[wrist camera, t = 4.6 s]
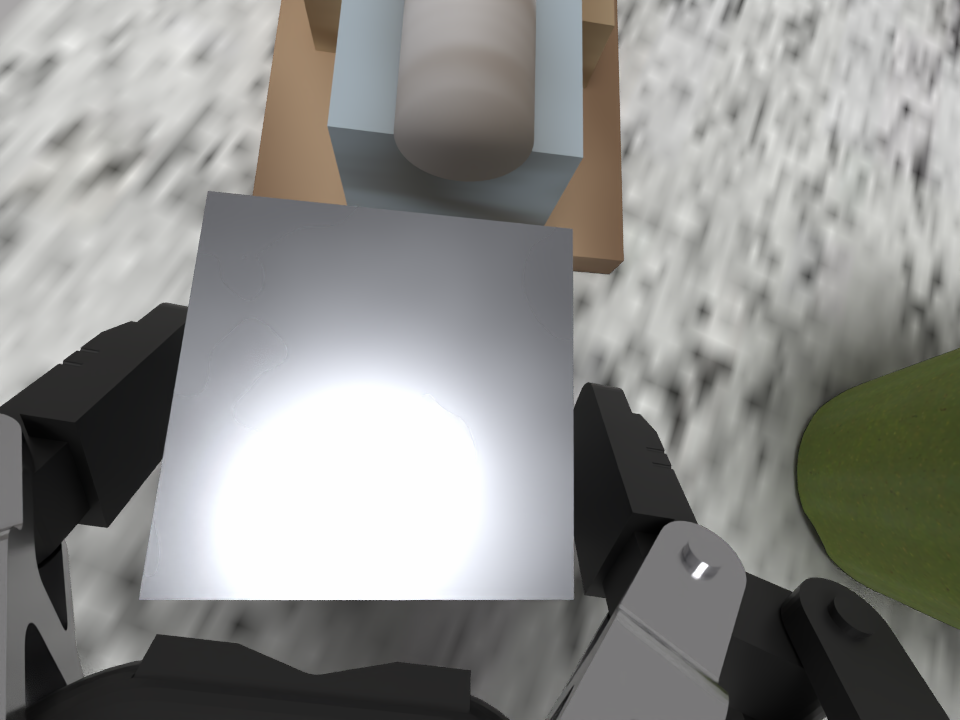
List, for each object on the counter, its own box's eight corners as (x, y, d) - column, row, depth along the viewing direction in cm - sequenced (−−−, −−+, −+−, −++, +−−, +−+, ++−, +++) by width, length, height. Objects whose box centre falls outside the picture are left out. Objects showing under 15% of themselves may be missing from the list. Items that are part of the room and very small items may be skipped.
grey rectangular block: (475, 348, 16) (572, 183, 6) (468, 530, 15) (574, 663, 5) (337, 339, 16) (216, 142, 6) (318, 528, 14) (126, 672, 5)
